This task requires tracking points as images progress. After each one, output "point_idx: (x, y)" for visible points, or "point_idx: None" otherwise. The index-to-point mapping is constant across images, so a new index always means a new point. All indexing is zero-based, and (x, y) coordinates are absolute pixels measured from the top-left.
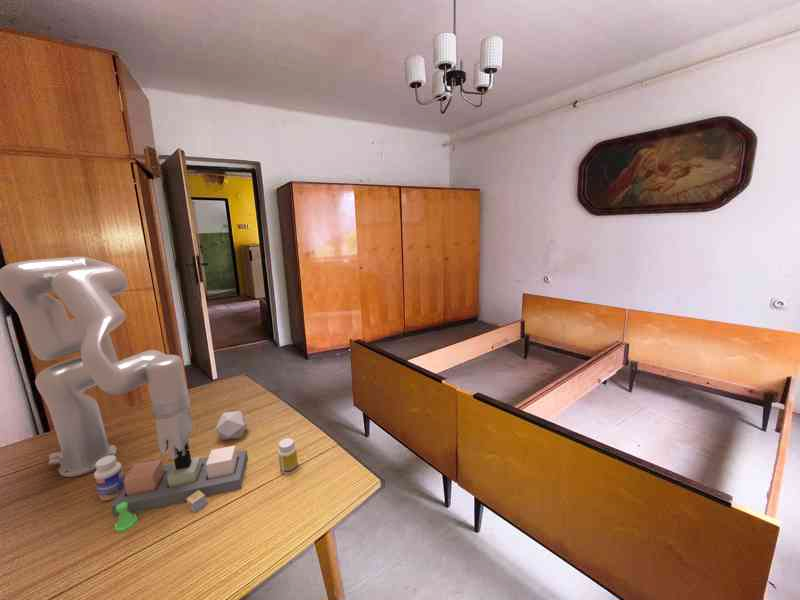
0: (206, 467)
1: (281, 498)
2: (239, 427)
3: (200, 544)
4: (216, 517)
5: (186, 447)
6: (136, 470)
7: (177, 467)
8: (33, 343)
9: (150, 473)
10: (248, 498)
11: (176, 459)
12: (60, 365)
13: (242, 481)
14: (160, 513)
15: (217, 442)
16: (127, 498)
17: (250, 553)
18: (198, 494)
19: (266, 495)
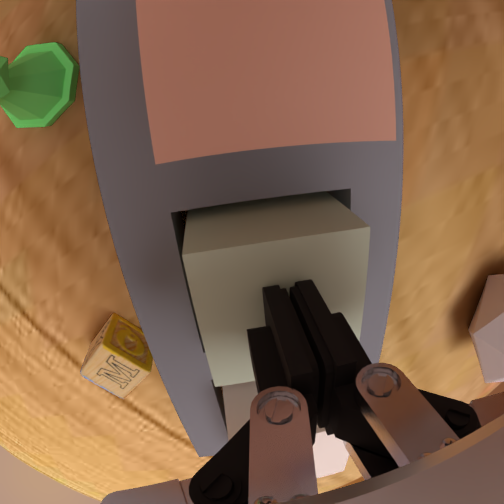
0: (228, 435)
1: (160, 478)
2: (485, 373)
3: (12, 380)
4: (86, 397)
5: (350, 451)
6: None
7: (265, 302)
8: None
9: (187, 130)
10: (159, 441)
11: (259, 385)
12: None
13: None
14: (84, 208)
15: (487, 257)
16: (118, 12)
17: (32, 448)
18: (124, 380)
19: (169, 463)
